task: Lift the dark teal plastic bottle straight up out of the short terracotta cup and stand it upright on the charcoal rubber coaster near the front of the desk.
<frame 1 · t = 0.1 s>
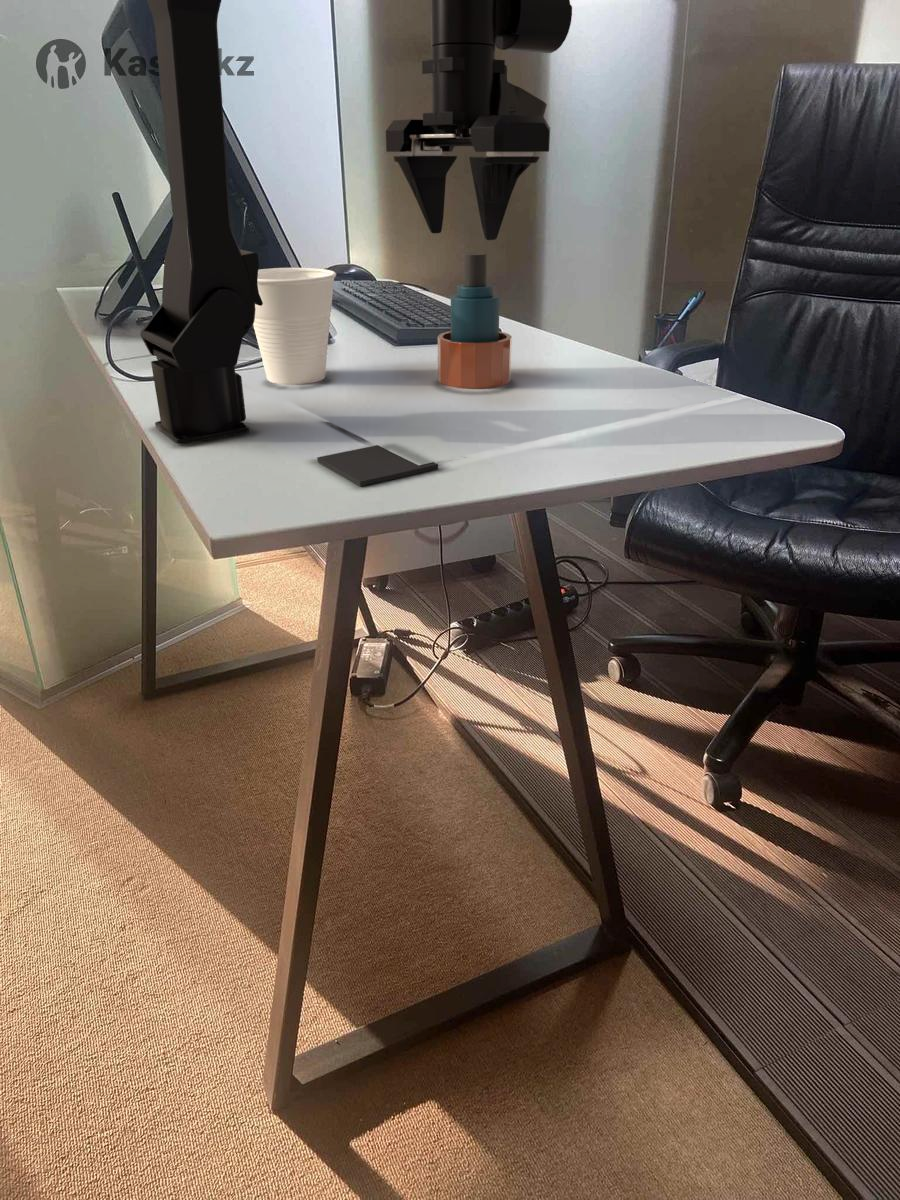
hand: (462, 236, 84), 15 cm above the table, tool pointing down, fingers open, 9 cm apart
bottle: (474, 379, 91), resting on holder
holder: (474, 384, 91), on the table
coaster: (377, 465, 68), on the table
cup: (296, 383, 93), on the table
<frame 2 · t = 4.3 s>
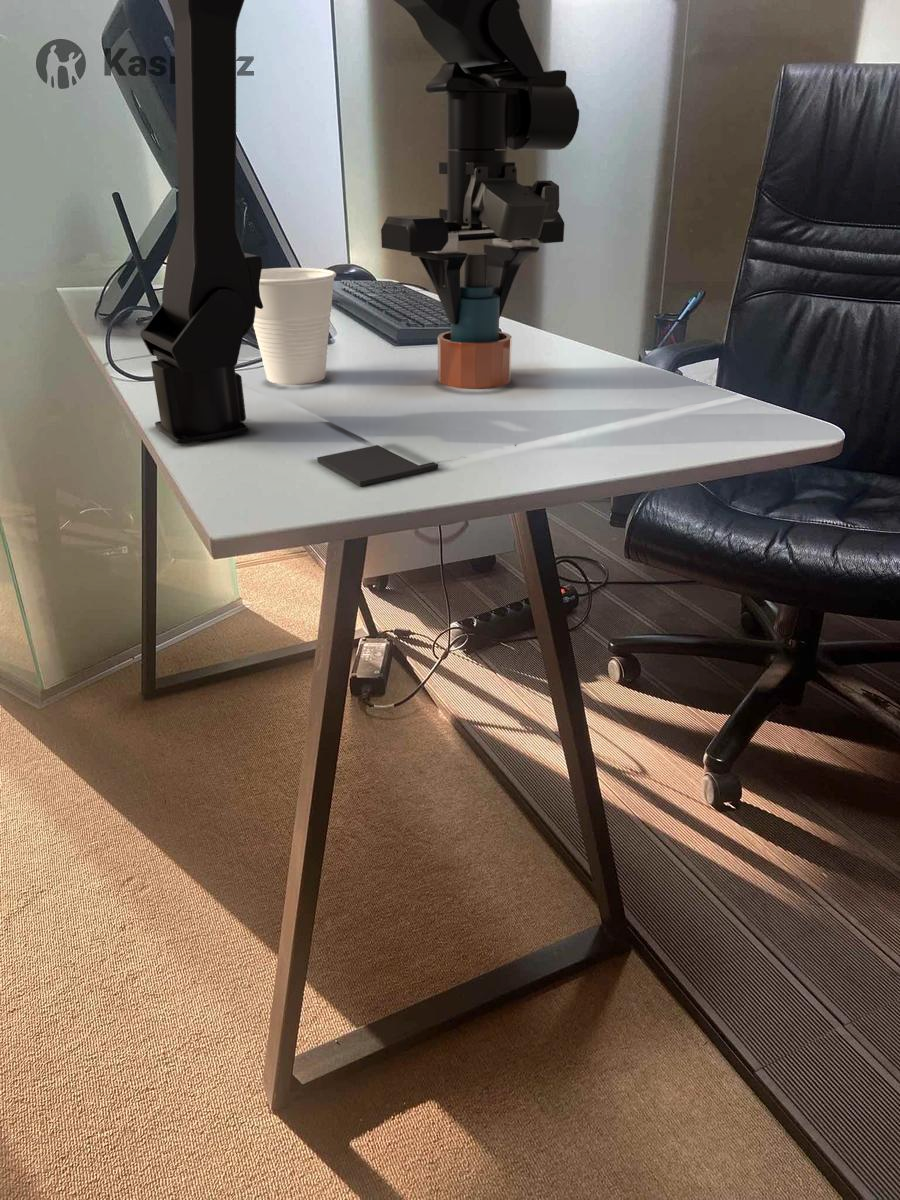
hand: (474, 321, 88), 7 cm above the table, tool pointing down, fingers closed on bottle, 5 cm apart
bottle: (474, 379, 91), point 1 cm above the table, touching gripper, holder
everything else where it was.
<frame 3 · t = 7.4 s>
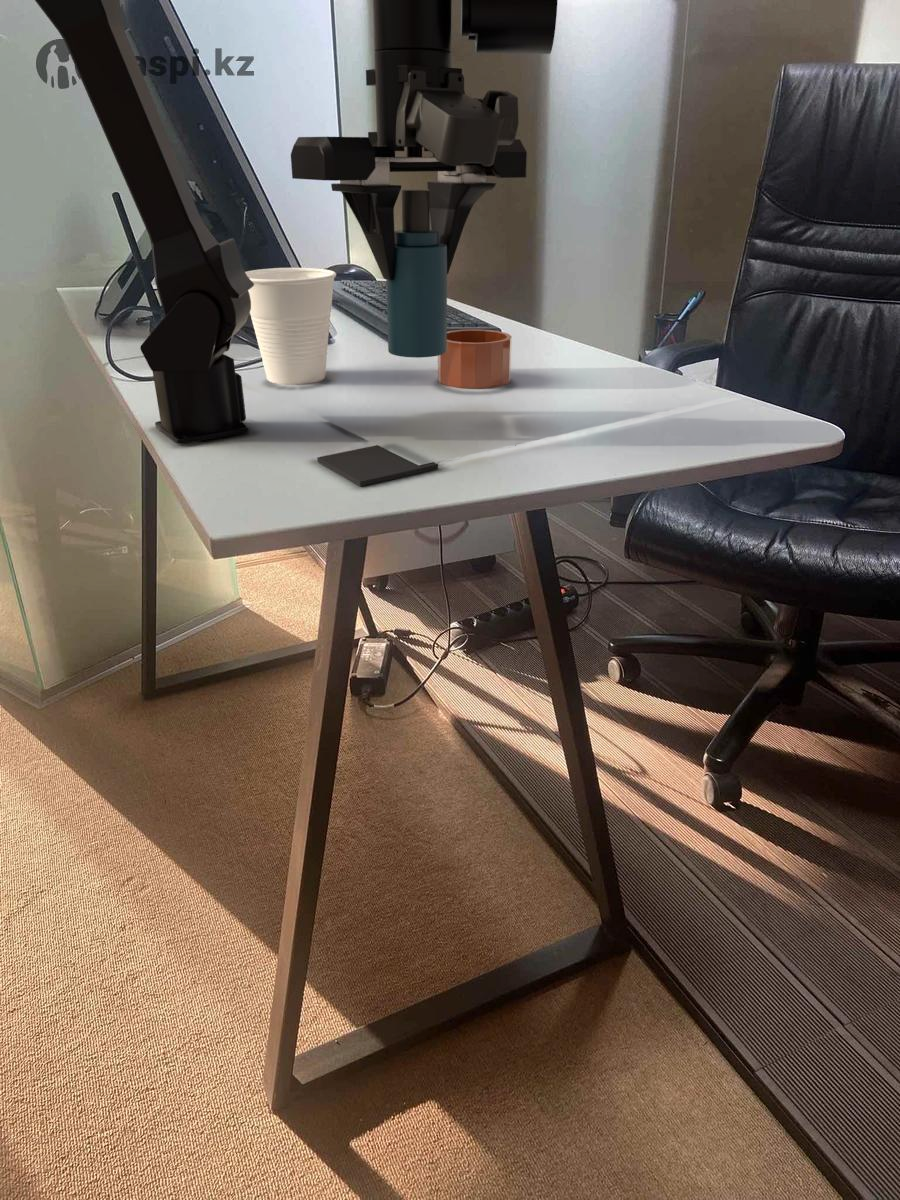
hand: (416, 277, 70), 13 cm above the table, tool pointing down, fingers closed on bottle, 5 cm apart
bottle: (417, 351, 73), point 7 cm above the table, touching gripper
everything else where it was.
when the fingers open (6 cm above the table, at t = 10.6 s): bottle stays where it is, resting on coaster.
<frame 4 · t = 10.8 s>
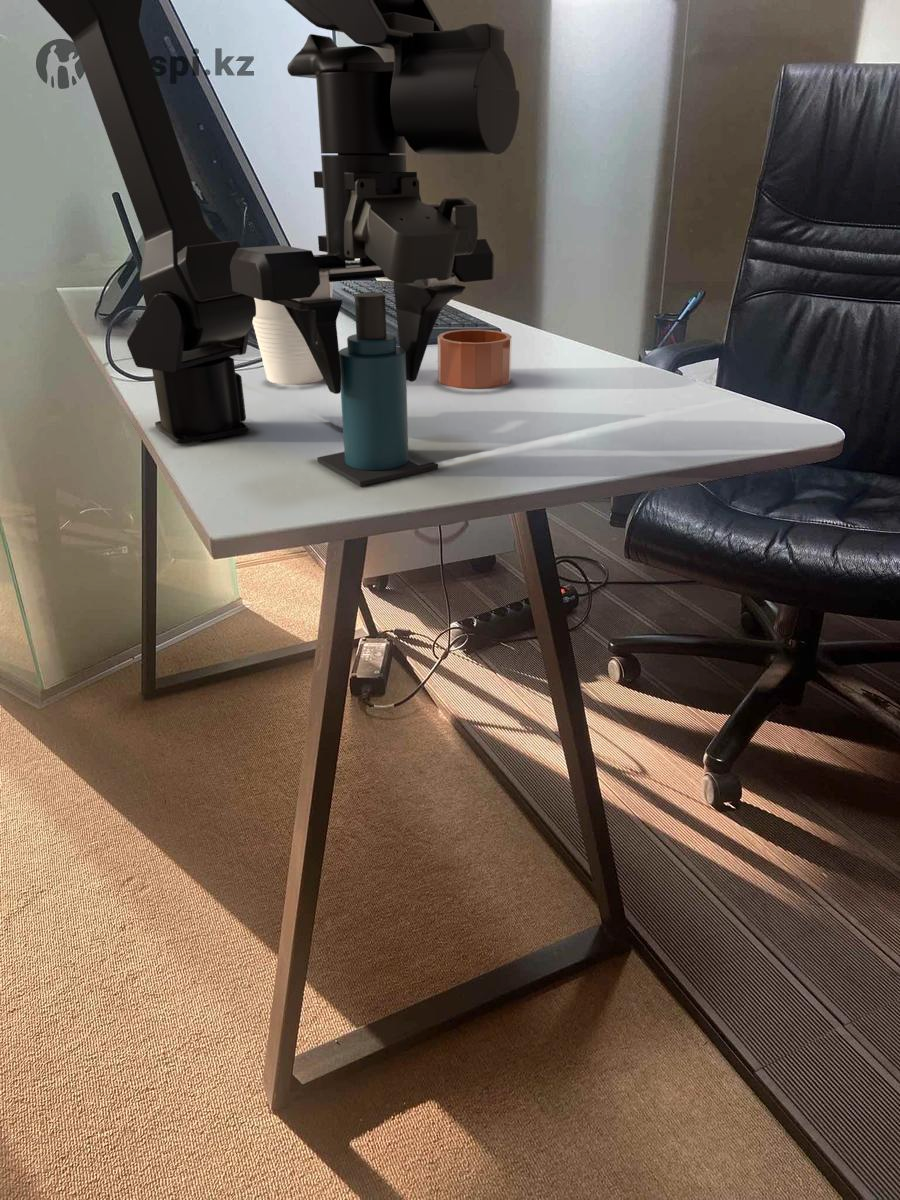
hand: (373, 386, 65), 6 cm above the table, tool pointing down, fingers open, 6 cm apart
bottle: (376, 460, 68), resting on coaster
everything else where it was.
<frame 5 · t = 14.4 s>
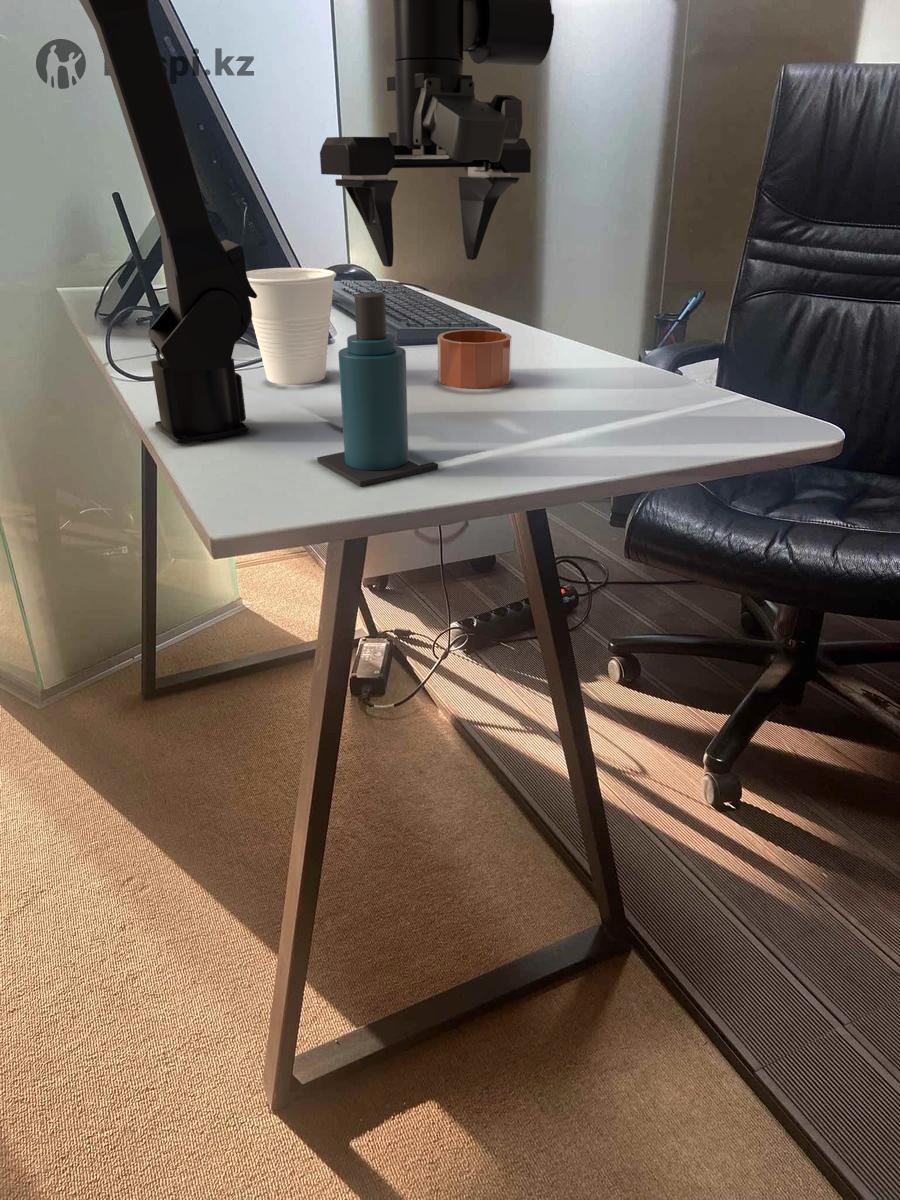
hand: (430, 262, 78), 13 cm above the table, tool pointing down, fingers open, 9 cm apart
nothing on the table moved.
at the end: bottle 0.0 cm off-centre on the coaster, point 0.4 cm above the coaster's base; bottle tilted 0°; bottle touching coaster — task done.
